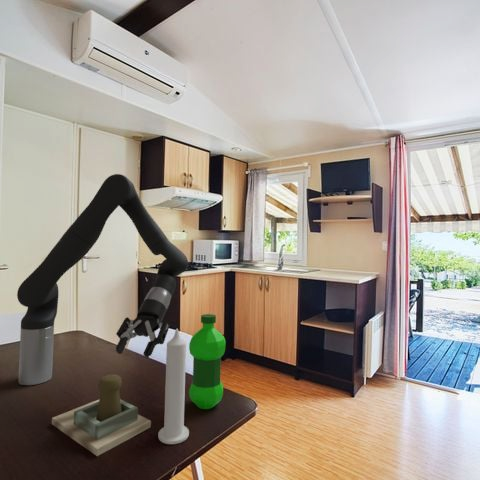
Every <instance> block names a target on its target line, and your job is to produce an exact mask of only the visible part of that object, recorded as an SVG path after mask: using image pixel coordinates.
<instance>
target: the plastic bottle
mask: <svg viewBox="0 0 480 480" xmlns="http://www.w3.org/2000/svg"><path fill="white" fill-rule="evenodd" d="M216 322H217V315H216V314H209V313H206V314H202V315H200V323H202V327H201V328H200V329H199V330H198V331H197V332H195V334H193V335H192V337H191V339H190V341H189V344H188V345H189V347H188V349H189V354H190V355H191V356H192V358H193V368H192V382H191V385H190V388H189V389H188V396H189V399H190V401H192V402H193V403H194V404H195V406H196V407H198V408H199V409H202V410H209V409H212V408H214V407H215V406H216V405H217V404H218V403H220V402H221V401H222V398H223V396H224V386H223V382H222V380H221V362H222V360H221V359H222V357H223V356H224V355H225V352H226V338H225V336H224V335H223V334H222V333H221V332H220V331H219V330H218V329H216V328H215V327H214V326H215V324H216Z"/></svg>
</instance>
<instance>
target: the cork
mask: <svg viewBox="0 0 480 480" xmlns="http://www.w3.org/2000/svg"><path fill="white" fill-rule="evenodd" d="M122 382H123V381H122V378H121V376H120V375H118V374H113V373H112V374H106V375H104V376H102V377H101V378H100V380H99V381H98V389H99V392H100V393H99V399H100V400H99V399H98V400H99V405H98V411H97V417H96V420H98V421H99V422H102V421H104V420H106V419H108V418H111V417H113V416H115V415H117V414H119V413H121V404H120V399H121V396H120V388H121V386H122Z"/></svg>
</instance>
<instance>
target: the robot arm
mask: <svg viewBox="0 0 480 480" xmlns="http://www.w3.org/2000/svg"><path fill="white" fill-rule="evenodd" d="M118 207H120V208H121V209H122V210H123V211H124V213H126V215H127V216H128V217H129V219H130V220H131V222H132V224H133V225H134V227H135V228H136V231H137V233H138V235H139V236H140V238H141V239H142V241H143V242H144V244H145V246H147V248H148V249H149V251H150V252H151V254H153V255H154V256H160V255H161V256H162V257H164V258H165V259H164V260H163V261H162V262H161V263H160V265H159V267H158V270H157V272H156V279H155V280H154V282H153V284H152V285H151V288H150V289H149V291H148V293H146V295H145V298H144V300H143V301H142V303H141V305H140V307H139V310H138V312H137V315H136V317H135V318H134V319H130V317H127V316H126V317H125V318H124V320H123V322H122V323H121V325H119V326H120V327H119V328H118V329H117V332H116V333H115V335H116V336H117V337H118V338H119V341H118V342H117V345H116V347H115V351H116V353H117V354H118V355H122V354H123V352H124V350H125V348H126V345H128V341H129V340H131V339H134V338H136V337H146V338H148V337H149V340H150V341H148V342H147V345H146V347H145V349H144V352H143V353H142V354H143V356H144V358H149V357H150V356H152V355H153V352H154V350H155V348H156V346H157V345H164V342H165V340H166V337H167V335H168V331H169V329H170V325H169V324H168V323H167V321H166V320H165V321H163V320H164V316H165V315H166V312H167V311H168V309H169V306H170V304H171V303H170V302H171V299H172V297H173V295H174V292H175V290H176V287H177V281H176V278H177V277H178V276H180V275H181V274H183V273H185V272H186V271H187V269H188V268H189V260H188V258H187V256H186V254H185V253H184V252H183V251H181V249H180V248H178V247H177V246H176V245H174V244H173V243H172V242H171V241H170V240H169V238H168V237H167V236H166V234H165V233H164V232H163V230H162V228H161V227H160V226H159V225H158V223H157V222H156V221H155V219H154V218H153V217H152V215H150V213H149V212H148V210H147V208H146V207H145V206H144V204H143V202H142V200H141V199H140V197H139V194H138V192H137V190H136V187H135V185H134V183H133V182H132V181H131V180H130V179H129V178H128V177H127V176H125V175H123V174H121V173H120V174H119V173H116V174H115V173H114V174H111V175H109V176H108V177H106V179H105V180H104V181H103V182H102V184H101V186H100V187H99V189H98V190H97V192H96V194H95V195H94V197H93V198H92V199H91V201H90V202H89V204H88V205H87V206H86V207H85V208H84V209H83V210H82V212H81V213H80V214H79V215H78V217H77V218H76V219H75V220H74V221H73V223H72V224H70V226H69V227H68V228H67V229H66V231H65V232H64V234H62V236H61V237H60V239H59V240H58V241H57V243H56V244H55V245H54V246H53V248H52V249H51V250H50V251H49V253H48V254H47V255H46V257H45V258H44V260H43V261H42V262H41V263H40V264H39V265H38V266H37V267H36V268H35V269H34V270H33V272H32V273H31V274H29V275H28V277H26V278H25V280H24V281H22V282H21V284H20V285H19V286H18V289H17V291H16V292H17V294H16V296H17V301H18V302H19V304H20V305H22V306H23V307H26V308H27V310H26V312H25V313H24V314H25V315H23V317H22V318H21V321H20V334H19V335H20V337H19V338H20V339H19V359H18V380H17V381H18V384H19V385H21V386H33V385H39V384H42V383H46V382H47V381H50V380H51V379H52V378H53V365H54V364H53V363H54V361H53V360H54V358H53V357H54V337H55V319H56V317H57V314H58V306H59V285H58V284H57V283H58V281H59V280H60V279H61V278H62V277H63V276H64V275H65V273H66V272H68V271H69V270H70V269H71V268H72V267H74V266H75V265H76V264H77V263H78V262H80V261H81V260H82V259H83V258H84V257H85V256H86V255H87V254H88V253H89V251H91V249H92V248H93V246H94V245H96V242H98V240H99V238H100V236H101V234H102V233H103V230H104V227H105V225H106V224H107V223H106V222H107V221H108V219H109V217H111V215H112V214H113V213H114V212H115V210H116V209H117V208H118ZM158 330H159V331H158ZM133 331H134V332H133ZM156 331H158V334H157V336H156V333H155V332H156Z"/></svg>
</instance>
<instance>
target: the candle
mask: <svg viewBox="0 0 480 480" xmlns="http://www.w3.org/2000/svg"><path fill="white" fill-rule="evenodd" d="M165 359H166V360H165V361H166V362H165V390H164V418H163V419H164V420H163V421H164V423H163V424H164V425H163V426H164V427H162V428H161V429H160V430H159V431H158V434H157V435H158V440H159V441H160V442H161V443H162V444H166V445H177V444H181V443H183V442H185V441H186V440H187V439H188V437H189V436H190V435H189V434H190V430H189V428H188V427H187V426H185V425H184V424H185V397H186V395H185V393H186V392H185V391H186V390H185V389H186V361H187V360H186V359H187V342H186V341H185V340H184V339H182V338H181V335H180V332H179V329H178V328H176V329H175V332H174V336H173V337H172V338H171V339H170V340H168V341H167V343H166V358H165Z"/></svg>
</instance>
